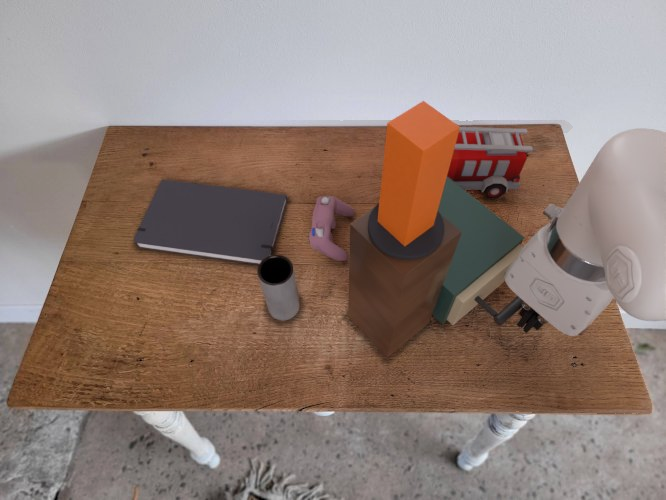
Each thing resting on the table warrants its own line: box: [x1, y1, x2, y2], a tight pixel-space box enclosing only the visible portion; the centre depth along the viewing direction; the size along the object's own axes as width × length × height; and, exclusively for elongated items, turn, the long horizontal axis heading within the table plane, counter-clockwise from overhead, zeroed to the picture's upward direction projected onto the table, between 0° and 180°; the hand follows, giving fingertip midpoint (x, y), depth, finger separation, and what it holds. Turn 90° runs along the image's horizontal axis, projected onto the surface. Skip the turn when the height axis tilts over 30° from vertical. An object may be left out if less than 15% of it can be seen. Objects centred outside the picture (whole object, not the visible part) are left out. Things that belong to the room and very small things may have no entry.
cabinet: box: [432, 177, 525, 325], centre depth 69 cm, size 15×14×9 cm
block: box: [378, 100, 461, 246], centre depth 43 cm, size 4×4×13 cm
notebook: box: [133, 178, 288, 266], centre depth 76 cm, size 13×2×21 cm
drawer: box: [447, 243, 525, 327], centre depth 67 cm, size 18×12×7 cm
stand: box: [347, 207, 462, 359], centre depth 58 cm, size 8×8×22 cm
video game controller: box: [308, 195, 355, 262], centre depth 73 cm, size 10×5×7 cm, turn 172°
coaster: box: [368, 203, 444, 259], centre depth 49 cm, size 8×8×1 cm
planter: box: [256, 254, 301, 321], centre depth 64 cm, size 4×4×10 cm
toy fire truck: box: [447, 126, 534, 200], centre depth 77 cm, size 9×19×10 cm, turn 90°
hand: (528, 322), depth 62 cm, fingers closed
